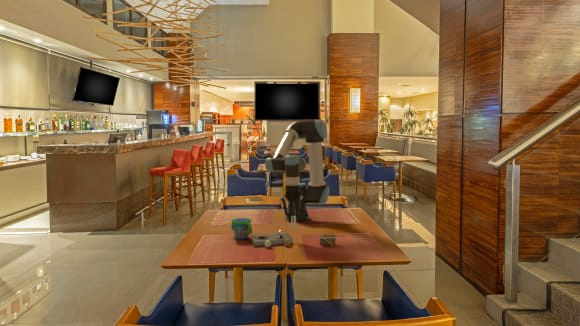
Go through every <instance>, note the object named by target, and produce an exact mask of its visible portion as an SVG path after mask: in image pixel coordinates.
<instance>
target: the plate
mask: <svg viewBox="0 0 580 326" xmlns="http://www.w3.org/2000/svg"><path fill="white" fill-rule="evenodd" d="M250 235H251V243H252V246H253V248H254V247H266V246H265V241H267V240H269V241H270V242H271V246H280V245H281V246H283V245H284V246H285V244H284V241H285V240H286V239H289V240H290V241H291V244H290V245H293V238H292V237H291V235H290V234H289V233H288V232H287V233H285V232H284V235H283V236H282V237H279V236H278V235H277V233H268V234H267V233H266V234H253V235H252V234H250Z"/></svg>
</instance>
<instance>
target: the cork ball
mask: <svg viewBox="0 0 580 326" xmlns="http://www.w3.org/2000/svg"><path fill="white" fill-rule="evenodd" d="M290 245H292V244H291V241H290V240H289V239H286V240H285V241H284V246H285V247H289V246H290Z"/></svg>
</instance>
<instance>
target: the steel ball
mask: <svg viewBox="0 0 580 326" xmlns="http://www.w3.org/2000/svg"><path fill="white" fill-rule="evenodd" d="M284 233H285V232H284V230H282V229H279V230H278V231H277V232H276V234H277V235H278V236H279V237H282V236H283V235H284Z"/></svg>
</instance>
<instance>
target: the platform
mask: <svg viewBox="0 0 580 326" xmlns="http://www.w3.org/2000/svg"><path fill="white" fill-rule="evenodd" d="M317 238H319V245H320V246H325V245H326V246H327V245H328V246H334V245H336V239H337V238H338V235H337V234H335V232H323V233H322V235H317Z"/></svg>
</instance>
